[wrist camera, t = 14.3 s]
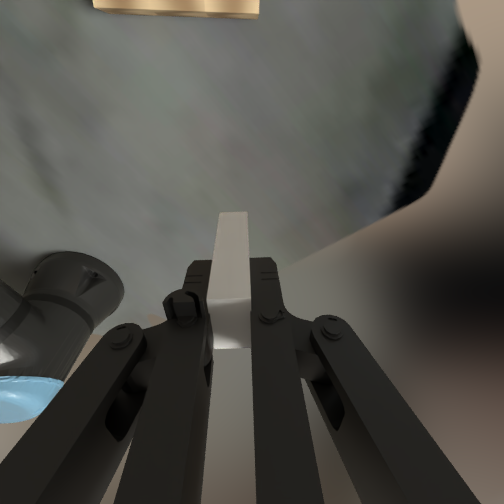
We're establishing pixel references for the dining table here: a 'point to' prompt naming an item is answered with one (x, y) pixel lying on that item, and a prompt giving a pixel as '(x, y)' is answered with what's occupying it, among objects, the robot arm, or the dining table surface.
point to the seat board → (182, 8)
